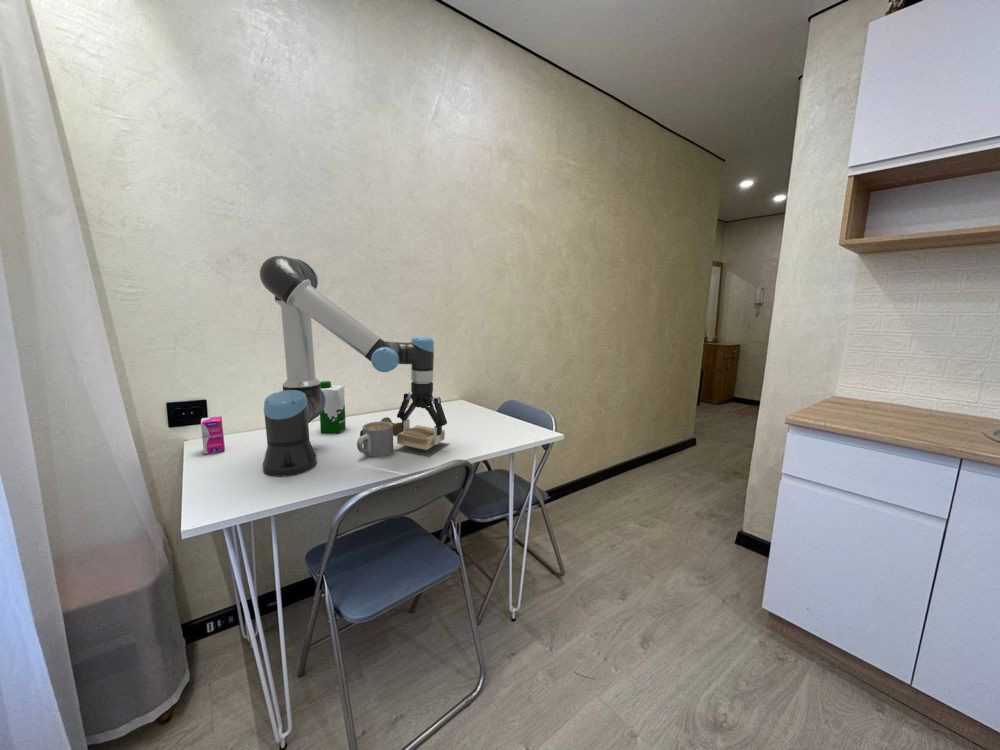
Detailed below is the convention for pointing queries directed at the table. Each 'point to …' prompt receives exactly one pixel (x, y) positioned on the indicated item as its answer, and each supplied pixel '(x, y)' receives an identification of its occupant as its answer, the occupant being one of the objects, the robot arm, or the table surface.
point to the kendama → (396, 426)
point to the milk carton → (333, 409)
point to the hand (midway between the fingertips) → (421, 440)
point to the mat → (423, 452)
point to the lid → (418, 437)
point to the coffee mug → (376, 439)
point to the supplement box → (212, 435)
